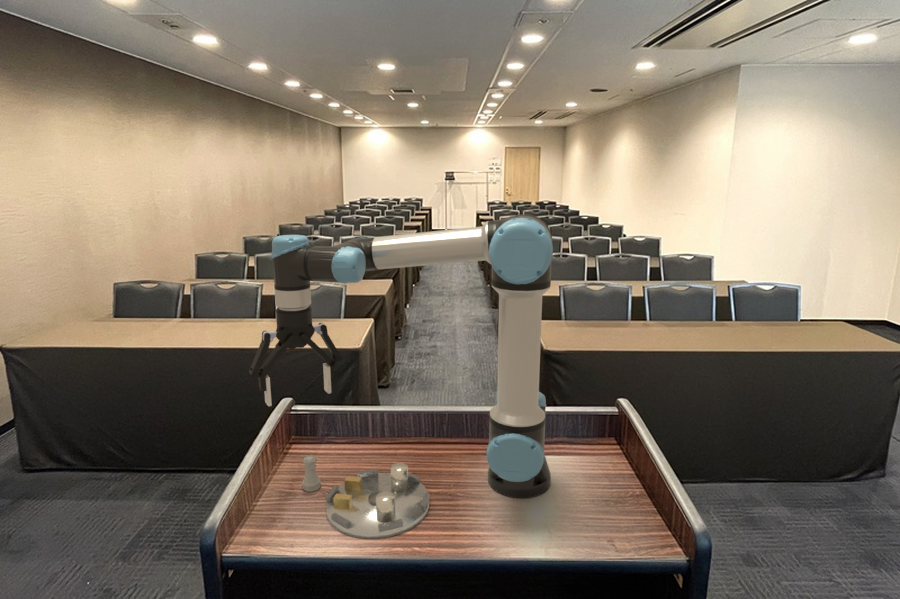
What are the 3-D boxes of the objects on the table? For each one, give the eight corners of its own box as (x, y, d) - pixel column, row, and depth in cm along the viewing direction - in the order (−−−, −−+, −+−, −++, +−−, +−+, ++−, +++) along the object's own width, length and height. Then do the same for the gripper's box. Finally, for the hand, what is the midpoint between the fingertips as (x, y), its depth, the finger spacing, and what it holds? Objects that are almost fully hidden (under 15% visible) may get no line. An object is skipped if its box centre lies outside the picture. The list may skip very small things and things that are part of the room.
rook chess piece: (316, 493, 130) (314, 462, 129) (298, 491, 131) (296, 460, 130) (324, 483, 135) (322, 453, 133) (307, 481, 136) (305, 451, 134)
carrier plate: (437, 482, 135) (437, 457, 133) (417, 543, 113) (416, 515, 111) (346, 474, 138) (345, 451, 137) (310, 533, 116) (307, 505, 115)
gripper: (341, 296, 130) (344, 381, 135) (229, 310, 117) (237, 403, 122) (354, 303, 124) (356, 391, 129) (237, 318, 111) (245, 416, 116)
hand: (298, 397), depth 126 cm, fingers open, 13 cm apart
